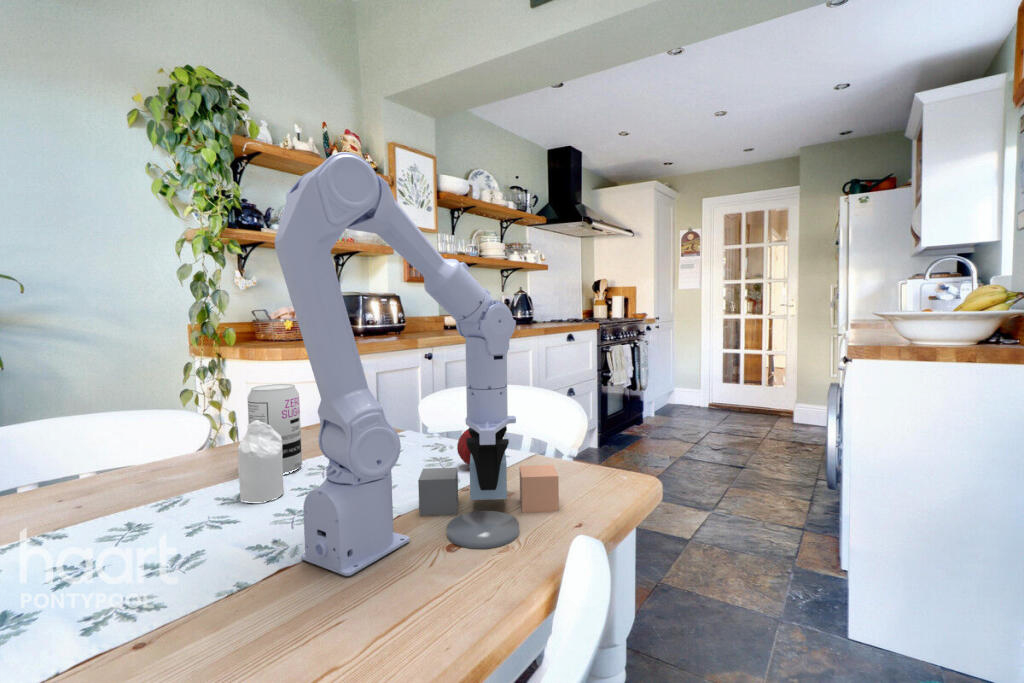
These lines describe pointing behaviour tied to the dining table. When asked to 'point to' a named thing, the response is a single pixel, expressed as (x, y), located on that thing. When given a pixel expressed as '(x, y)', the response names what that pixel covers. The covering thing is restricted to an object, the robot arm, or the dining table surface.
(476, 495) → the blue cube
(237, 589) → the dining table surface
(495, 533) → the slate coaster
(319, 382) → the robot arm
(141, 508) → the dining table surface
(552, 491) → the terracotta cube
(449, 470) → the charcoal cube
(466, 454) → the onion
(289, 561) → the dining table surface
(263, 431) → the grey crumpled-top cylinder
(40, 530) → the dining table surface
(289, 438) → the white soda can
